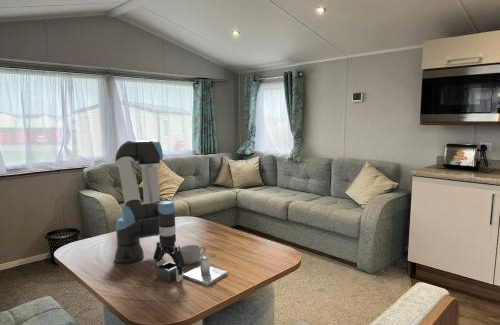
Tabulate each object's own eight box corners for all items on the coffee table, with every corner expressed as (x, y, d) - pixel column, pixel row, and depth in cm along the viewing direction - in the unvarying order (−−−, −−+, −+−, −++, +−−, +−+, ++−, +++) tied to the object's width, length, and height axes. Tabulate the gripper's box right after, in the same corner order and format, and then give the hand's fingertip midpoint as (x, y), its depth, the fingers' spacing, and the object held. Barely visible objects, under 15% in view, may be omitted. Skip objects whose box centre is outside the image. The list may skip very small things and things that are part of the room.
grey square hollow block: (156, 279, 160) (156, 267, 159) (170, 272, 167) (169, 260, 166) (168, 283, 155) (168, 271, 154) (182, 276, 162) (181, 264, 161)
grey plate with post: (183, 277, 161) (182, 258, 160) (203, 266, 173) (202, 249, 172) (207, 286, 152) (207, 266, 151) (227, 274, 163) (226, 255, 162)
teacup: (180, 267, 172) (180, 252, 171) (179, 259, 183) (178, 245, 182) (207, 264, 176) (207, 249, 175) (204, 256, 186) (204, 242, 185)
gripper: (144, 231, 162) (146, 274, 165) (179, 241, 148) (181, 287, 151) (156, 227, 168) (158, 268, 171) (192, 236, 154) (193, 280, 157)
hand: (169, 277), depth 161 cm, fingers open, 12 cm apart
